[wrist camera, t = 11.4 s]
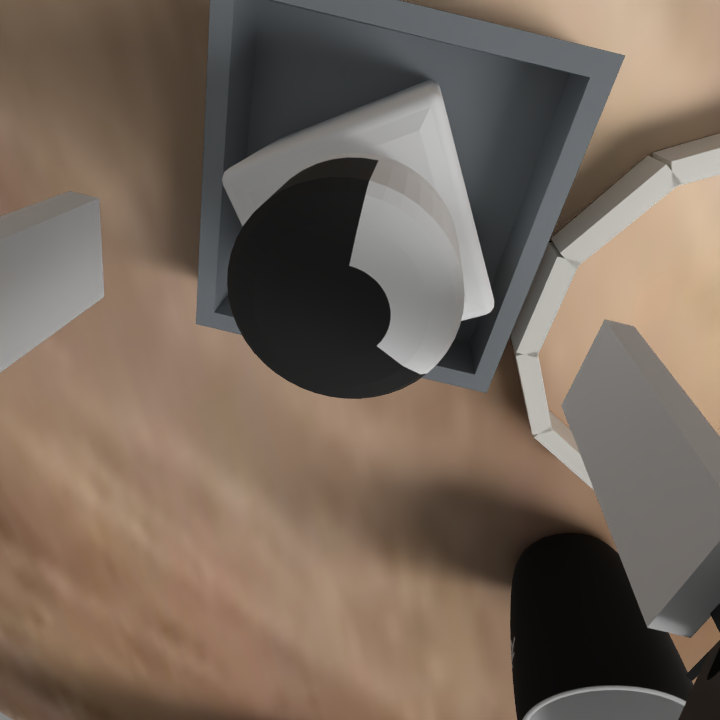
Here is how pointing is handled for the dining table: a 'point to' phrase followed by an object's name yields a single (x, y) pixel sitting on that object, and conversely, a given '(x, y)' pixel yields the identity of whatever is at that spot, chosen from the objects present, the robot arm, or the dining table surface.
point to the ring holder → (574, 248)
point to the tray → (383, 78)
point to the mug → (587, 639)
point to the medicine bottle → (356, 248)
